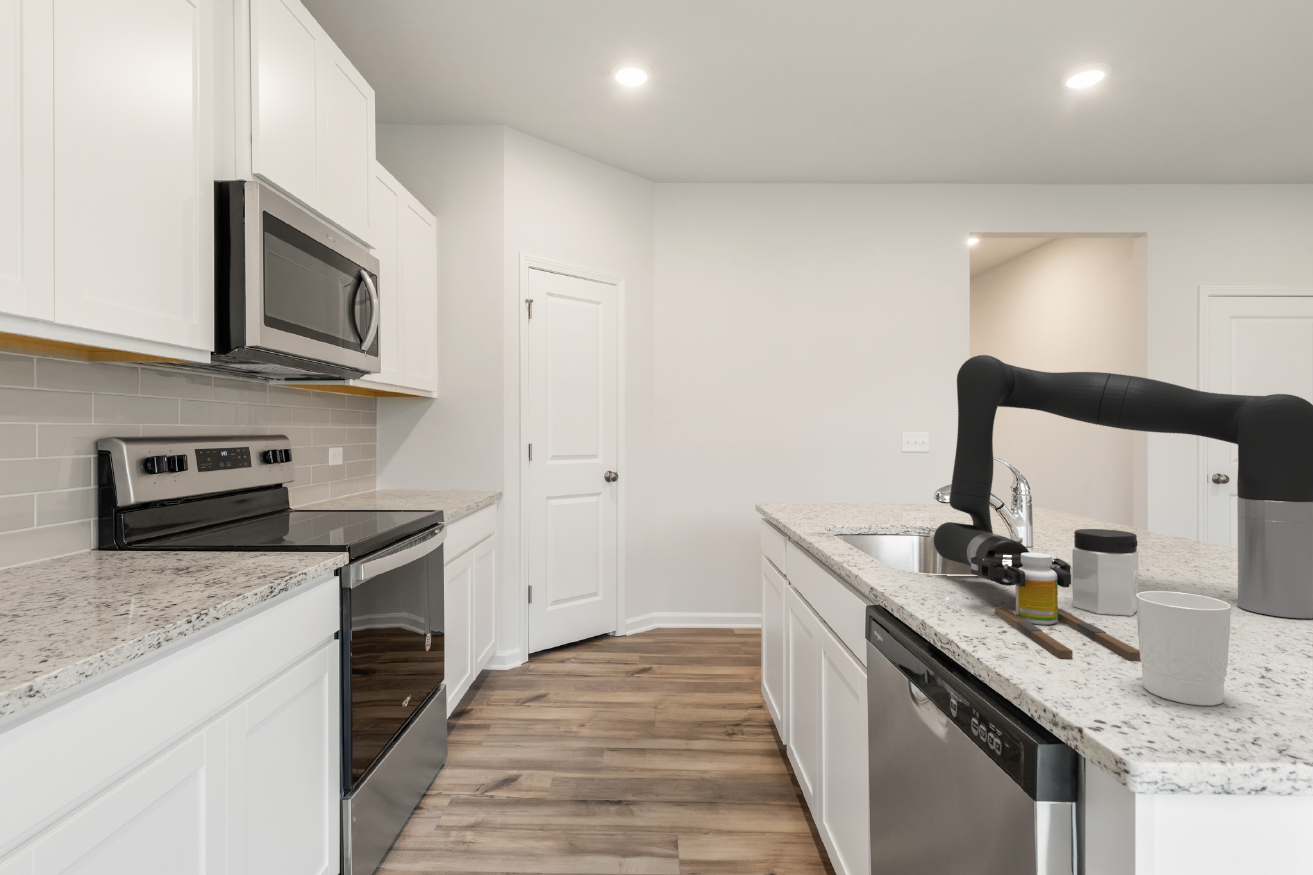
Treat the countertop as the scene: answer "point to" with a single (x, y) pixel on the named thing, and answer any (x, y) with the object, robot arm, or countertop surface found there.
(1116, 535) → the jar
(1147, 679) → the white cup
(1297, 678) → the countertop surface
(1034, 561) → the supplement bottle
